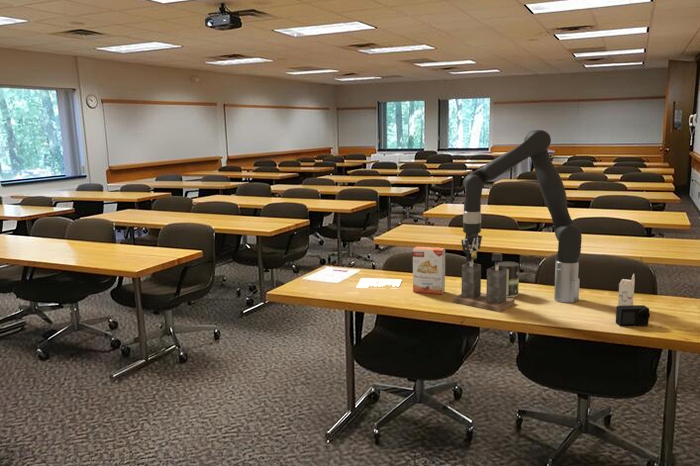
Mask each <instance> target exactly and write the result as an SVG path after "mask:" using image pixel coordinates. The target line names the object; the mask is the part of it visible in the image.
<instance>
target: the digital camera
mask: <svg viewBox="0 0 700 466" xmlns="http://www.w3.org/2000/svg"><path fill="white" fill-rule="evenodd" d="M615 307H616V311H615V324H617V326H619V327H623V328H624V327H648V326H649V319H650V316H651V314H650V308H649V307H648V306H646V305H641V304H639V305H638V304H637V305H634V304H633V305H630V306H618V305H616V306H615Z"/></svg>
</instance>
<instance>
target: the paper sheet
mask: <svg viewBox="0 0 700 466" xmlns="http://www.w3.org/2000/svg"><path fill="white" fill-rule="evenodd" d="M402 281H403V279H401V278H399V279H398V278H397V279H395V278H373V277H372V278H371V277H361V278H360V279H359V281H358V283H357V285H356V286H355V289H358V288H359V289H369V288H368V287H369V286H371V287H372V286H374V287H377V286H378V287H381V286H382V287H383V286H385V285H389V286H390V285H392V287H395V286H397V287H399V288H400V285H401V283H402Z"/></svg>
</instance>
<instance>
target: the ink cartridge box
mask: <svg viewBox="0 0 700 466" xmlns="http://www.w3.org/2000/svg"><path fill="white" fill-rule="evenodd" d="M635 283H636V282H635V273H633V274H632V276H631V279H626V278H625V279H624V278H622V279H621V280H620V282H619V283H618V303H617V306H630V305H634V295H635Z"/></svg>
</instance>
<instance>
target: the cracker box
mask: <svg viewBox="0 0 700 466" xmlns="http://www.w3.org/2000/svg"><path fill="white" fill-rule="evenodd" d="M445 290H446V247H432V246H431V247H429V246H418V245H417V246H415V247H414V248H412V292H414V293H424V294H431V295H432V294H433V295H443V294H444V292H445Z"/></svg>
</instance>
